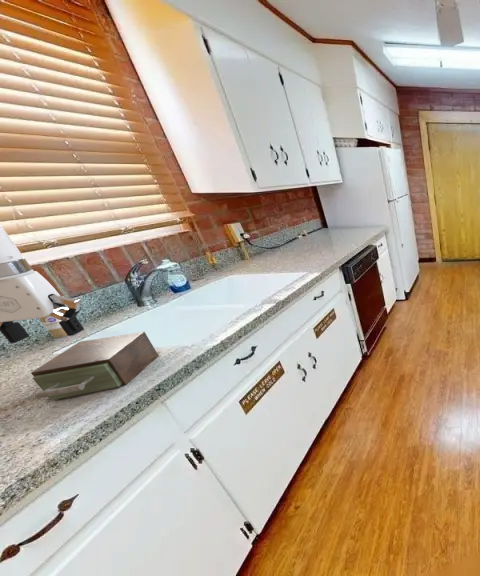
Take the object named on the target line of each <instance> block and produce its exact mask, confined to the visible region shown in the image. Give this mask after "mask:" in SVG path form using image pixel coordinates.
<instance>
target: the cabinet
mask: <svg viewBox="0 0 480 576" xmlns="http://www.w3.org/2000/svg"><path fill="white" fill-rule="evenodd" d="M158 358H159V353H158V352H157V350H156V348H155V346H154V345H153V344H152V342H151V340H150V339H149V336H148V335H147V333H146V332H145V331H140V332H134V333H127V334H121V335H120V334H119V335H115V336H114V335H113V336H107V337H101V338H100V337H99V338H95V339H94V338H93V339H88V340H81V341H79V342H77V343H75V344H74V345H72V346H70V347H69V348H67V349H66V350H64V351H63V352H61V353H59V354H58V355H56V356H54V357H53V358H51V359H50V360H48V361H47V362H45V363H44V364H42V365H41V366H39V367H37V368H35V369H34V370H32V371H31V372H30V374H31V375H32V376H33V377H34V376H36V375H40V374H46V373H48V372H54V371H59V370H65V369H71V368H76V367H82V366H88V365H93V364H99V363H105V362H107V363H108V364H109V366H110V367H111V368H112V370H113V371H114V373H115V374H116V376H117V377H118V379H119V380H120V382H121V383H122V384H121V385H120V386H119V387H123V386H127V385H128V384H129V383H130V382H131V381H133V380H134V379H135V378H136V377H137V376H138V375H139V374H140V373H141V372H143V371H144V370H145V369H146V368H148V366H149V365H150V364H152V363H153V362H154V361H155V360H156V359H158ZM95 392H97V391H95ZM90 393H93V392H90ZM90 393H89V394H90ZM86 394H88V393H85V394H80V395H75V396H70V397H65V398H60V399H55V400H54V401H57V400H64V399H68V398H73V397H77V396H83V395H86Z"/></svg>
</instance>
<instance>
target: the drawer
mask: <svg viewBox="0 0 480 576" xmlns="http://www.w3.org/2000/svg"><path fill="white" fill-rule="evenodd" d="M32 380H33V381H34V383H36V385H37V386H38V387H39V388H40V391H38V392H37V393H36V394H35V396H36V398H37V399H42V398H48V399H49V400H50V401H56V400H55V399H58V400H61V399H60V398H63V399H66V398H65V397H68V398H71V397H70V396H73V397H76V396H75V395H78V396H81V395H80V394H83V395H86V394H85V393H87V394H90V392H92V393H94V392H95V391H96V392H100V391H105V390H109V389H110V390H111V389H115V388H119V387H121V386H120V385H121V384H122V383H121V382H120V380H119V379H118V377H117V376H116V374H115V373H114V371H113V370H112V368H111V367H110V366H109V364H108V363H107V362H105V363H99V364H93V365H88V366H82V367H76V368H71V369H65V370H59V371H54V372H48V373H46V374H40V375H36V376H33V377H32Z"/></svg>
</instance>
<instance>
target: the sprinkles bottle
mask: <svg viewBox="0 0 480 576" xmlns="http://www.w3.org/2000/svg"><path fill="white" fill-rule="evenodd" d="M58 313H61V312H58ZM38 319H39V320H40V322H41V323H42V325H43V327H45V328H46V330H47V331H48V332H49V333H50V334H51V336H52V339H58V338H63V337H67V336H68V335H67V334H66V332H65V331H64V330H63V328H62V327H61V325H60V324H59V322H60V321H61V320H59V319H56V318H54V317H52V316H49V315H48V316H46V317H42V318H38Z"/></svg>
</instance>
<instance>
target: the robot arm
mask: <svg viewBox="0 0 480 576" xmlns="http://www.w3.org/2000/svg"><path fill="white" fill-rule="evenodd" d="M81 306H82V301H81V299H78V298H73V297H68V296H63V295H60V294H59V292H58V290H57V289H56V288H55V287H54V286H53V285H52V284H51V283H50V282H49V281H48V280H47V279H46V278H45V277H44V276H43V275H42V274H40V273H39V272H38V271H35V270H34V269H33V268H32V266H31V265H30V264H29V262H28V261H27V259H26V258H25V257H24V255H23V254H22V252H21V251H20V250H19V248H18V247H17V246H16V244H15V243H14V241H13V240H12V238H11V237H10V236H9V234H8V233H7V231H6V230H5V228H4V227H3V226H2V225H1V224H0V333H1V334H2V335H3V336H4V338H5V339H6V340H7V342H9V343H10V344H16V343H18V342H20V341H22V340H24V339H27V338H28V337H29V336H30V334H29V333H28V331H26V329H25V328H24V327H23V326H22V324H21V323H20V322H19V321H25V320H34V319H39V318H42V317H46V316H48V315H49V316H52V317H54V318H56V319H59V320H61V321H60V322H59V324H60V325H61V327H62V328H63V330H64V331H65V332H66V334H67V336H68V337H72V336H75V335H78V334H79V333H81V332H83V331H84V330H85V328H84V326H83V325H82V323H81V322H80V320H79V319H78V318H77V316H79V313H80V311H81V310H82V309H81ZM58 312H60V313H58Z"/></svg>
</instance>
